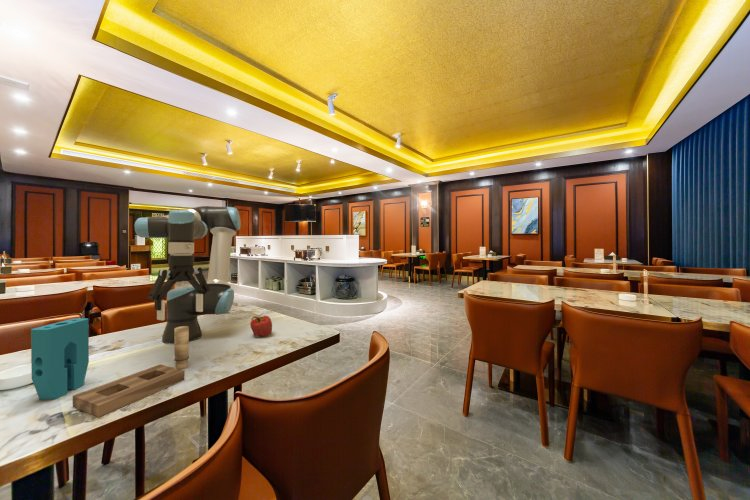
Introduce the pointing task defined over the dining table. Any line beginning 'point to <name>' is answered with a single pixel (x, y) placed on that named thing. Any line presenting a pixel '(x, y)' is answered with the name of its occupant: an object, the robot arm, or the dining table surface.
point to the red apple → (261, 326)
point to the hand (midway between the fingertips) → (181, 315)
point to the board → (126, 390)
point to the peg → (181, 346)
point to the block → (59, 357)
